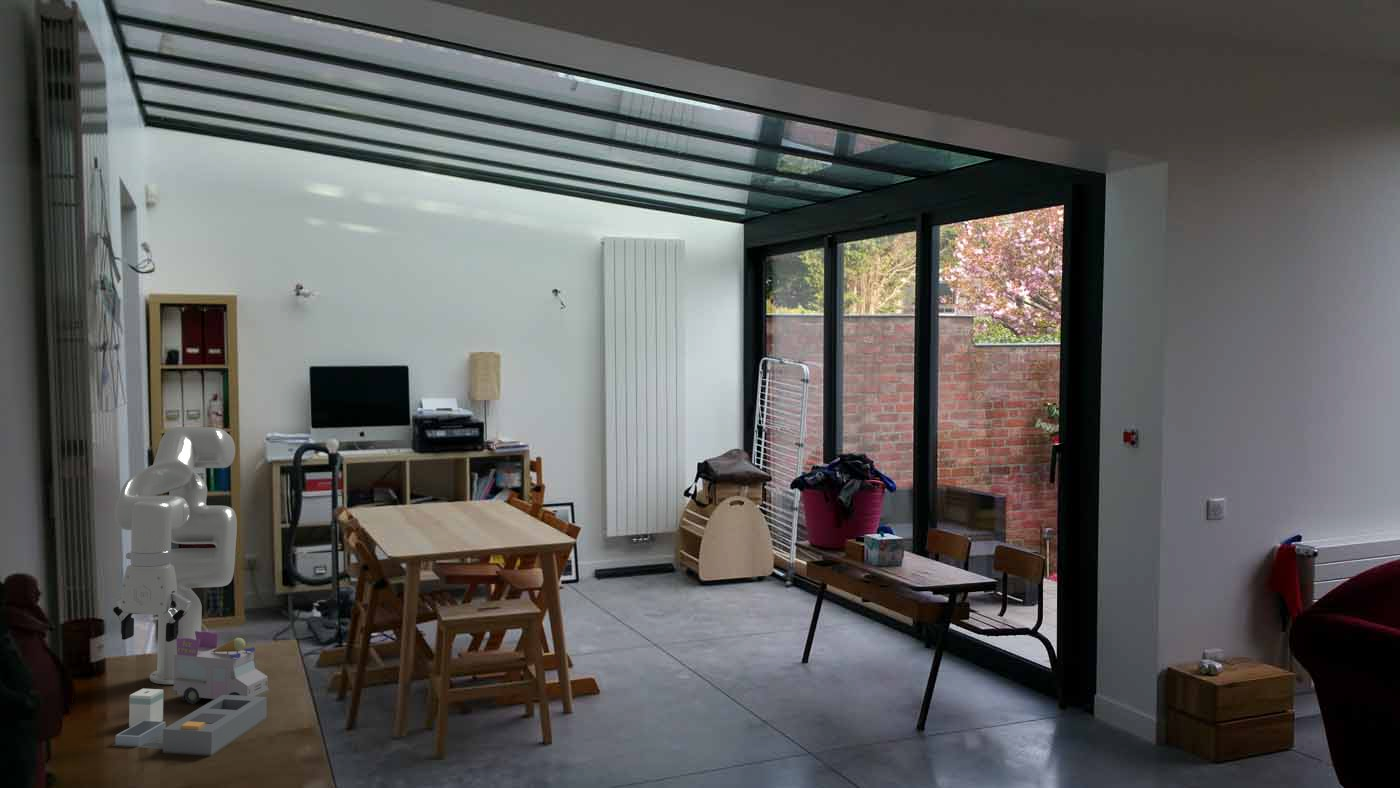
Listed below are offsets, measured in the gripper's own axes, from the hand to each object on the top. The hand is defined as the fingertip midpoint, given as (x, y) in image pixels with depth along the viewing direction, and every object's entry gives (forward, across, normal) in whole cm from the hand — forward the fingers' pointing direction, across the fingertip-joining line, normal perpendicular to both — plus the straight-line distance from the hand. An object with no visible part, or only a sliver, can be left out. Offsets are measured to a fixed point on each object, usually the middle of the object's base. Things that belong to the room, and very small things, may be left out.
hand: (149, 639), depth 220 cm
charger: (+18, 0, 0) cm, 19 cm away
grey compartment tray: (+18, +18, -4) cm, 26 cm away
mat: (+18, +6, -8) cm, 21 cm away
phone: (+18, +4, -8) cm, 20 cm away
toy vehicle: (+19, +7, +17) cm, 26 cm away
